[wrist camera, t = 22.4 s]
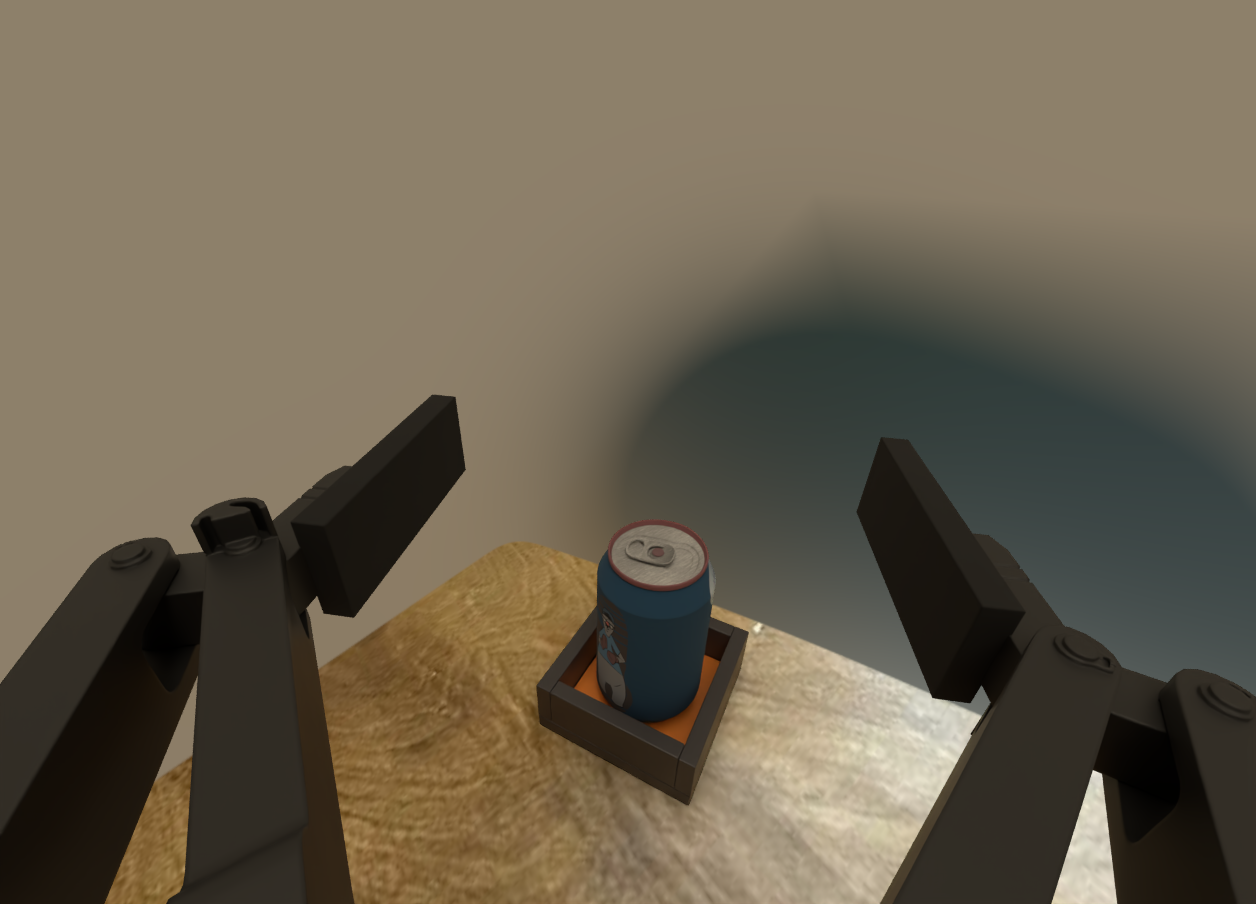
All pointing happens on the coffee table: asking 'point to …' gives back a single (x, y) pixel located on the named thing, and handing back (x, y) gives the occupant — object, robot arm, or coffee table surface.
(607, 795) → the coffee table surface
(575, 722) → the square wooden tray
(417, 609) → the coffee table surface
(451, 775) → the coffee table surface
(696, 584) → the soda can
